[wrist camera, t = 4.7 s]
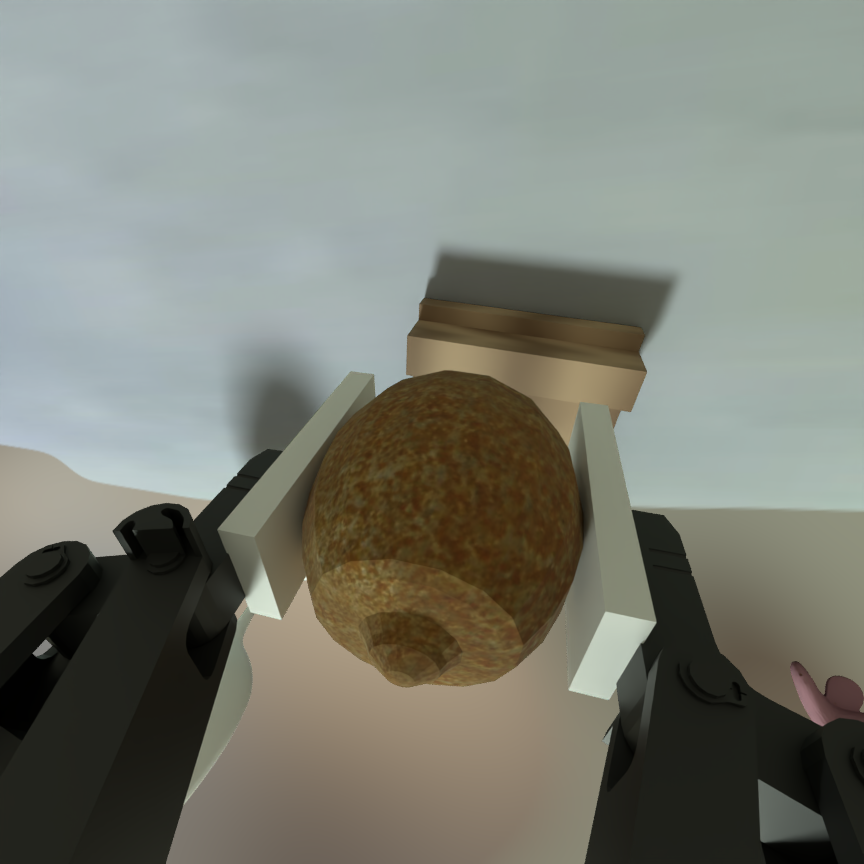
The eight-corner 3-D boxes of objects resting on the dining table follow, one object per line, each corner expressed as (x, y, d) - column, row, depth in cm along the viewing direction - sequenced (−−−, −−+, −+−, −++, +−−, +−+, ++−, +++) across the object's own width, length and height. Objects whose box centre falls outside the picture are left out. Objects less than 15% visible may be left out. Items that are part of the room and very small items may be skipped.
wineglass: (303, 523, 42) (140, 777, 25) (336, 579, 47) (216, 826, 30) (236, 526, 45) (51, 755, 28) (273, 578, 49) (132, 802, 33)
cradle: (414, 485, 36) (402, 517, 32) (424, 297, 26) (407, 318, 23) (570, 517, 34) (573, 554, 31) (641, 327, 24) (654, 354, 21)
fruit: (481, 518, 16) (436, 782, 9) (342, 419, 14) (180, 644, 8) (620, 417, 12) (706, 733, 6) (454, 274, 11) (320, 472, 4)
